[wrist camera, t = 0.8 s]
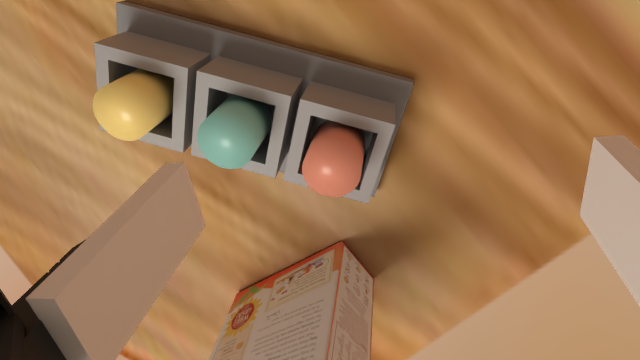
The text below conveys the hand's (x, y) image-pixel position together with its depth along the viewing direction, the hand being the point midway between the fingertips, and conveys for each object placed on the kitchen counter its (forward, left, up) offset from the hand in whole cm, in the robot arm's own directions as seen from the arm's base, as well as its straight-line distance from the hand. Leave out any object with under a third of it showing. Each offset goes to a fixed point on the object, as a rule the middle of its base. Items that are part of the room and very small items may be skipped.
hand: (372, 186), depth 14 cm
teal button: (-8, -6, -15) cm, 19 cm away
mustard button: (-15, -6, -15) cm, 23 cm away
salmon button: (-1, -6, -15) cm, 17 cm away
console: (-8, -6, -19) cm, 21 cm away
